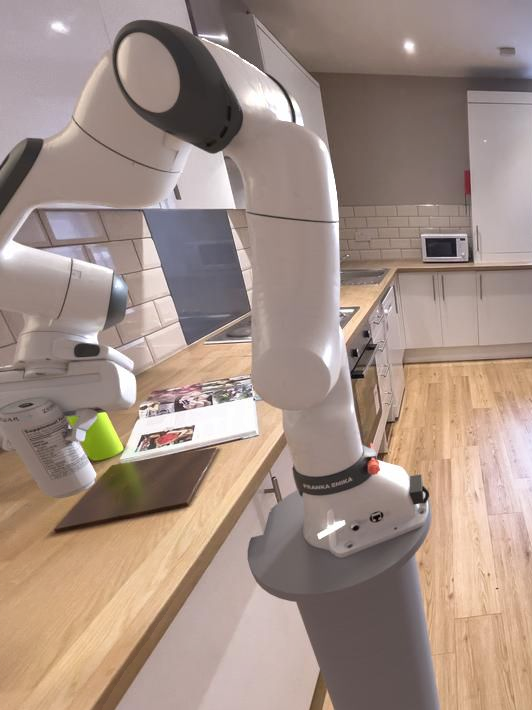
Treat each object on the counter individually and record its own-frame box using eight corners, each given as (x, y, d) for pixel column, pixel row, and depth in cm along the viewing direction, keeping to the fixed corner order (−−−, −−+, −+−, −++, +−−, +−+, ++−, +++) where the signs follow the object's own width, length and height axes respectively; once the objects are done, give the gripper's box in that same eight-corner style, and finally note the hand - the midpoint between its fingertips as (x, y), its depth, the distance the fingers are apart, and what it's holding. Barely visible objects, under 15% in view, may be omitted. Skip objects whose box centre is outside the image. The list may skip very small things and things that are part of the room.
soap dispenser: (134, 447, 97) (96, 369, 88) (97, 463, 91) (53, 381, 82) (120, 441, 99) (82, 365, 90) (84, 457, 93) (40, 377, 85)
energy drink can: (84, 473, 68) (38, 392, 62) (108, 480, 66) (63, 397, 60) (37, 496, 63) (-19, 411, 56) (61, 504, 61) (6, 417, 55)
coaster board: (218, 449, 95) (217, 446, 95) (188, 505, 78) (187, 502, 77) (113, 468, 89) (111, 465, 89) (55, 532, 72) (53, 529, 72)
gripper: (-49, 360, 59) (-72, 453, 55) (120, 345, 64) (111, 429, 60) (-7, 376, 65) (-24, 462, 61) (145, 361, 70) (139, 439, 66)
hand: (44, 445), depth 60 cm, fingers closed on energy drink can, 6 cm apart
